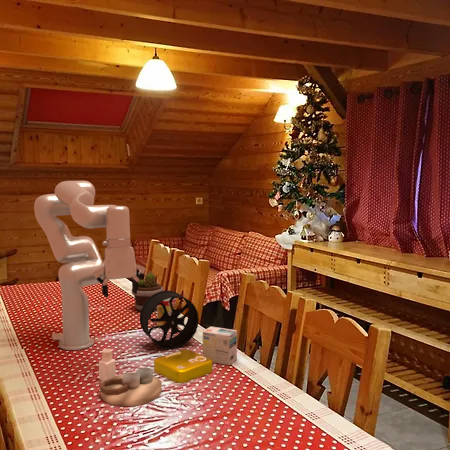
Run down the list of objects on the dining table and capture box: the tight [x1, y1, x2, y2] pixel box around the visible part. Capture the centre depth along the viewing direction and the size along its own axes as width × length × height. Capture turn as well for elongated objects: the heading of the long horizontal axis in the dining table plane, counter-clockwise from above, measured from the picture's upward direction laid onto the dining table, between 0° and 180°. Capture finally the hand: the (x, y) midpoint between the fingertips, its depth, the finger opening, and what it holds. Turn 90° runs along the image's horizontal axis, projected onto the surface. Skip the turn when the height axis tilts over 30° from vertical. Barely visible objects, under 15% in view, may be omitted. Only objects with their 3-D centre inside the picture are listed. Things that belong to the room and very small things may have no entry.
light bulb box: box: [202, 326, 238, 366], centre depth 174 cm, size 11×7×11 cm, turn 65°
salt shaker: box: [98, 348, 117, 382], centre depth 158 cm, size 4×4×10 cm
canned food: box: [156, 298, 177, 326], centre depth 211 cm, size 8×8×12 cm
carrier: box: [99, 367, 163, 407], centre depth 149 cm, size 18×18×5 cm
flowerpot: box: [131, 270, 164, 312], centre depth 235 cm, size 14×15×20 cm
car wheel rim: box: [139, 290, 200, 350], centre depth 188 cm, size 20×10×20 cm, turn 116°
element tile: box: [153, 348, 214, 384], centre depth 165 cm, size 15×15×5 cm
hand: (120, 294), depth 165 cm, fingers open, 9 cm apart
